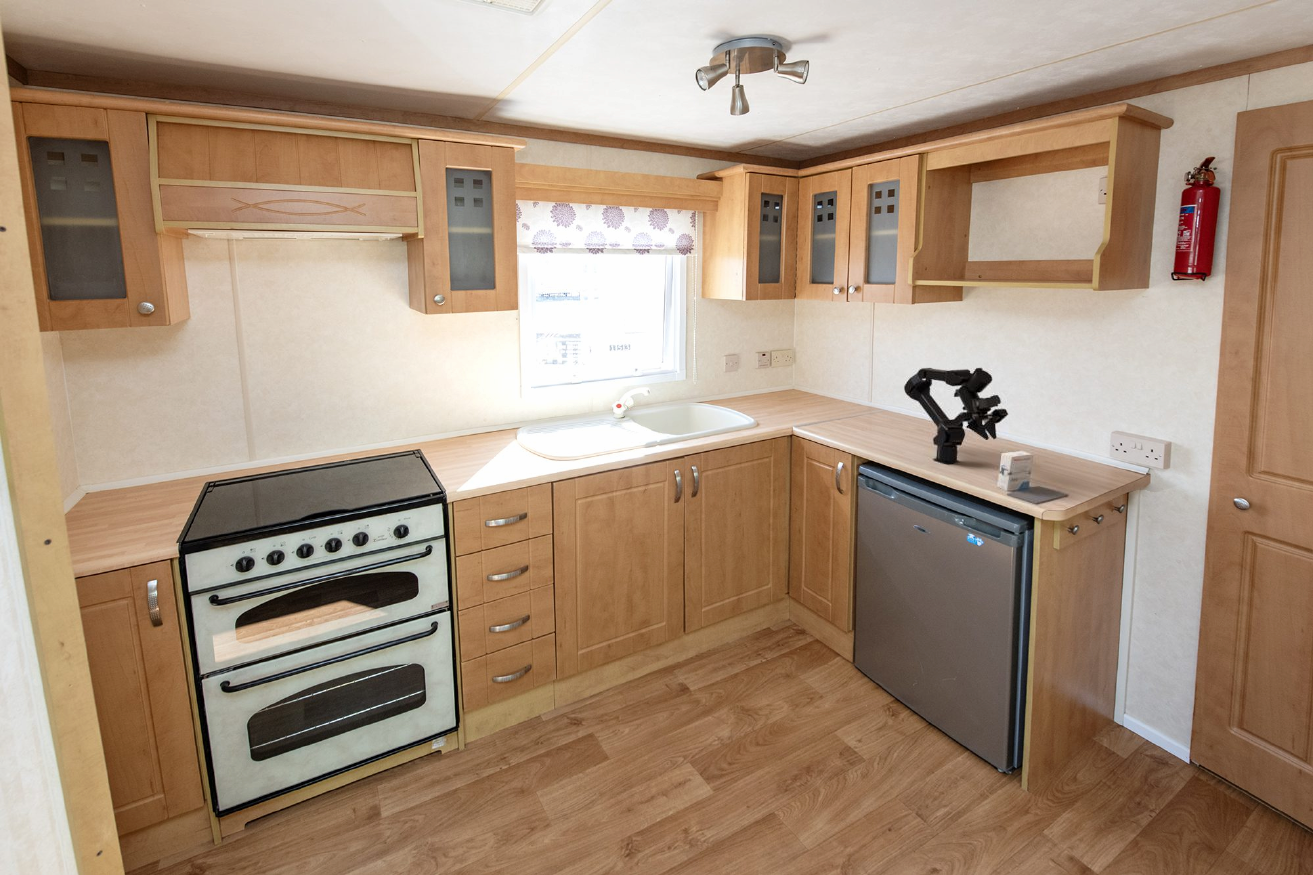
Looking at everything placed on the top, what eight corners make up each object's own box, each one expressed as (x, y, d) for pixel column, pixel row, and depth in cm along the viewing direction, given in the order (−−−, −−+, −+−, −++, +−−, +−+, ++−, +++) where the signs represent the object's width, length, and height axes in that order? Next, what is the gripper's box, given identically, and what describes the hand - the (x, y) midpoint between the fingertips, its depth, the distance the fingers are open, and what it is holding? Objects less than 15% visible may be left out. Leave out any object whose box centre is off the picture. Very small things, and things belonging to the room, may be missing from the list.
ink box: (1018, 484, 240) (1022, 450, 237) (1029, 489, 236) (1034, 454, 233) (996, 487, 238) (1000, 452, 235) (1007, 491, 233) (1012, 456, 230)
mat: (1006, 494, 230) (1006, 493, 230) (1038, 487, 238) (1038, 485, 237) (1035, 504, 222) (1035, 503, 222) (1068, 495, 229) (1068, 494, 229)
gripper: (962, 388, 242) (983, 428, 235) (1007, 385, 248) (1029, 423, 240) (944, 407, 251) (963, 446, 244) (987, 403, 257) (1008, 441, 249)
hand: (991, 439), depth 244 cm, fingers open, 3 cm apart
